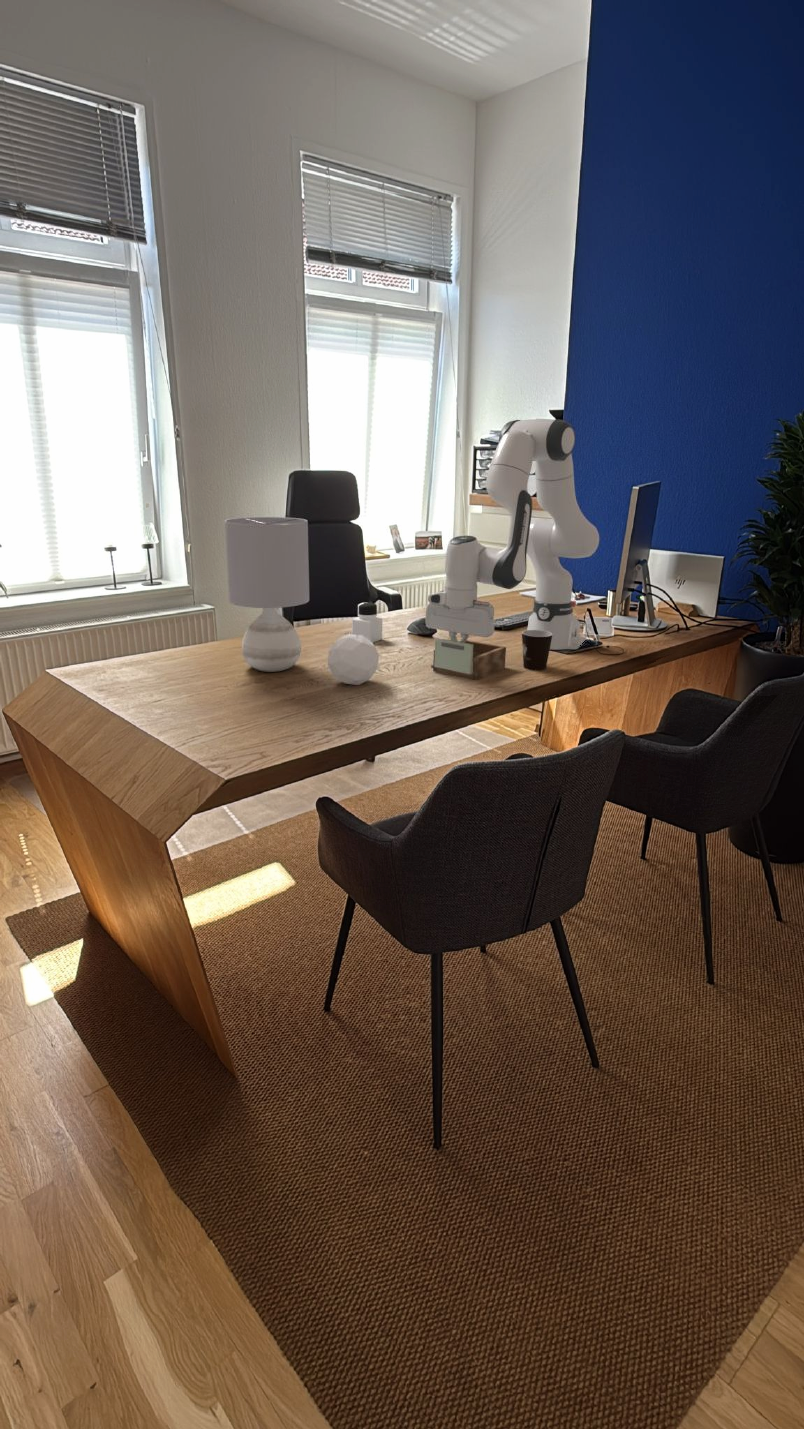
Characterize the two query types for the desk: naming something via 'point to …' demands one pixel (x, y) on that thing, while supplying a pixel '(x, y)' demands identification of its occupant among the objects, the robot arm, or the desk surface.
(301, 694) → the desk surface
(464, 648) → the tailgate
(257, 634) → the lamp
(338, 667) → the geodesic sphere
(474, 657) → the crate
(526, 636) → the coffee mug
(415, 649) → the desk surface
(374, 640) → the medicine bottle
